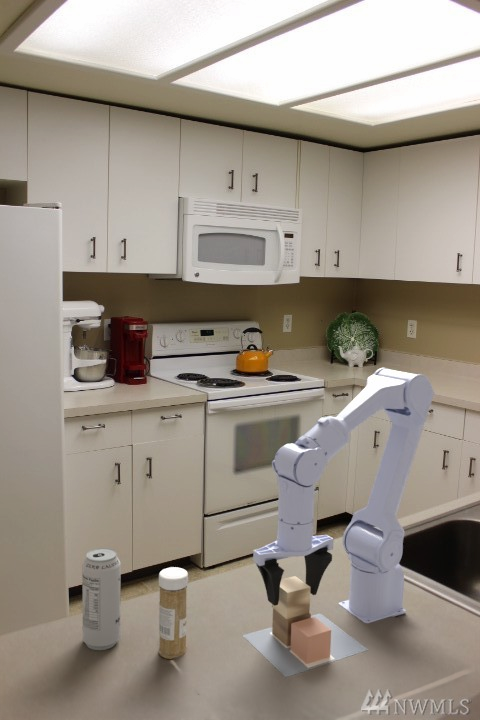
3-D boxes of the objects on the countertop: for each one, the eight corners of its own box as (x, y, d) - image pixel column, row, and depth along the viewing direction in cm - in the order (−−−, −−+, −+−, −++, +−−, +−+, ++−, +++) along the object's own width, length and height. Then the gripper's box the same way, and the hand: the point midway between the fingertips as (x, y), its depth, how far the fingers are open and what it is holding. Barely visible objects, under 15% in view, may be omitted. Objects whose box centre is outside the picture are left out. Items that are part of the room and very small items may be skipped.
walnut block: (294, 626, 114) (295, 602, 114) (309, 639, 110) (310, 614, 110) (272, 633, 112) (273, 608, 111) (287, 646, 108) (288, 620, 108)
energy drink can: (125, 645, 108) (126, 557, 106) (89, 656, 105) (89, 565, 103) (112, 628, 113) (112, 543, 111) (77, 637, 110) (77, 550, 108)
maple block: (294, 600, 114) (295, 575, 113) (309, 612, 110) (310, 587, 110) (271, 606, 112) (272, 581, 111) (286, 619, 108) (287, 592, 107)
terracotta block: (313, 642, 110) (314, 616, 109) (330, 656, 106) (331, 629, 105) (290, 649, 107) (291, 623, 107) (306, 664, 103) (308, 636, 103)
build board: (320, 615, 119) (320, 613, 119) (368, 652, 108) (368, 649, 108) (242, 638, 111) (242, 635, 111) (285, 680, 100) (285, 677, 100)
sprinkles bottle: (191, 655, 106) (193, 574, 104) (166, 663, 103) (167, 581, 102) (178, 641, 110) (179, 563, 108) (152, 649, 107) (153, 569, 105)
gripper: (317, 503, 116) (313, 578, 117) (244, 517, 108) (242, 596, 110) (342, 517, 109) (338, 595, 111) (267, 532, 102) (264, 615, 104)
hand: (292, 597), depth 110 cm, fingers open, 7 cm apart
